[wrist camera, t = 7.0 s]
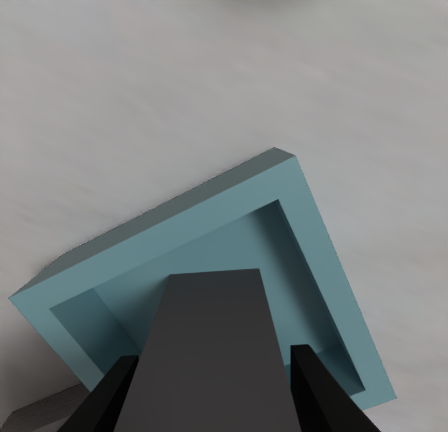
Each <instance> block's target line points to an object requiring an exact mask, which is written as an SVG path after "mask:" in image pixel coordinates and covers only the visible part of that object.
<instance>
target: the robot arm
mask: <svg viewBox="0 0 448 432" xmlns="http://www.w3.org/2000/svg"><path fill="white" fill-rule="evenodd" d="M138 362H139V356H138V355H129V356H121V357H120V358H119V359H118V360H117V361H116V362H115V364H114V365H113V366H112V367H111V368H110V370H109V371H108V372H107V373H106V375H105V376H104V377H103V378H102V379H101V381H100V382H99V383H98V384H97V385H96V387H95V388H94V389H93V390H92V392H91V393H90V394H89V395H88V396H87V397H86V399H85V400H84V401H83V402H82V403H81V404H80V406H79V407H78V408H77V409H76V410H75V411H74V413H73V414H72V415H71V416H70V417H69V418H68V420H67V421H66V422H65V423H64V424H63V425H62V426H61V427H60V428H59V429H58V431H57V432H114V429H115V426H116V424H117V421H118V418H119V415H120V413H121V410H122V407H123V404H124V401H125V399H126V396H127V393H128V390H129V387H130V385H131V382H132V379H133V376H134V373H135V371H136V368H137V365H138ZM290 390H291V393H292V397H293V401H294V405H295V409H296V413H297V417H298V421H299V425H300V428H301V432H381V431H380V430H379V429H378V428H377V427H376V426H375V425H374V424H373V423H372V421H371V420H370V419H369V418H368V417H367V416H366V415H365V414H364V413H363V411H362V410H361V409H360V408H359V407H358V406H357V405H356V403H355V402H354V401H353V400H352V399H351V397H350V396H349V395H348V394H347V393H346V392H345V390H344V389H343V388H342V387H341V386H340V384H339V383H338V382H337V381H336V379H335V378H334V377H333V376H332V374H331V373H330V372H329V370H328V369H327V368H326V366H325V365H324V364H323V363H322V361H321V360H320V358H319V357H318V356H317V354H316V353H315V352H314V350H313V349H312V347H311V346H310V345H309V344H301V345H290Z"/></svg>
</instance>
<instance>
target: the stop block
mask: <svg viewBox="0 0 448 432" xmlns="http://www.w3.org/2000/svg"><path fill="white" fill-rule="evenodd" d="M114 432H301V428H300V425H299V421H298V417H297V413H296V409H295V405H294V401H293V397H292V393H291V390H290V386H289V382H288V378H287V374H286V370H285V366H284V362H283V359H282V355H281V351H280V347H279V343H278V339H277V335H276V331H275V327H274V324H273V320H272V316H271V312H270V308H269V304H268V300H267V296H266V292H265V289H264V285H263V281H262V277H261V273H260V269H259V268H254V269H239V270H225V271H210V272H196V273H181V274H170V276H169V278H168V281H167V284H166V287H165V290H164V292H163V295H162V298H161V301H160V304H159V306H158V309H157V312H156V315H155V318H154V320H153V323H152V326H151V329H150V332H149V334H148V337H147V340H146V343H145V346H144V348H143V351H142V354H141V357H140V359H139V362H138V365H137V368H136V371H135V373H134V376H133V379H132V382H131V385H130V387H129V390H128V393H127V396H126V399H125V401H124V404H123V407H122V410H121V413H120V415H119V418H118V421H117V424H116V426H115V429H114Z"/></svg>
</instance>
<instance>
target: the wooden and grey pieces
mask: <svg viewBox="0 0 448 432" xmlns="http://www.w3.org/2000/svg"><path fill="white" fill-rule="evenodd" d="M90 393H91V392H90V391H89V390H88V389H87V388H86V386H85V385H84V384H83V383H81V384H79V385H76V386H74V387H71V388H69V389H67V390H64V391H62V392H60V393H57V394H55V395H53V396H50V397H48V398H45V399H43V400H41V401H38V402H36V403H34V404H31V405H29V406H26V407H24V408H22V409H19V410H17V411H15V412H12V414H11V415H10V416H9V418H8V419H7V420H6V422H5V423H4V425H3V426H2V427H1V429H0V432H57V431H58V429H59V428H60V427H61V426H62V425H63V424H64V423H65V422H66V421H67V420H68V418H69V417H70V416H71V415H72V414H73V413H74V411H75V410H76V409H77V408H78V407H79V406H80V404H81V403H82V402H83V401H84V400H85V399H86V397H87V396H88V395H89V394H90Z"/></svg>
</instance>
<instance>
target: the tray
mask: <svg viewBox="0 0 448 432" xmlns="http://www.w3.org/2000/svg"><path fill="white" fill-rule="evenodd" d="M254 268H259V269H260V273H261V277H262V281H263V285H264V289H265V292H266V296H267V300H268V304H269V308H270V312H271V316H272V320H273V324H274V327H275V331H276V335H277V339H278V343H279V347H280V351H281V355H282V359H283V362H284V366H285V370H286V374H287V378H288V382H289V386H290V345H301V344H309V345H310V346H311V347H312V349H313V350H314V352H315V353H316V354H317V356H318V357H319V358H320V360H321V361H322V363H323V364H324V365H325V366H326V368H327V369H328V370H329V372H330V373H331V374H332V376H333V377H334V378H335V379H336V381H337V382H338V383H339V384H340V386H341V387H342V388H343V389H344V390H345V392H346V393H347V394H348V395H349V396H350V397H351V399H352V400H353V401H354V402H355V403H356V405H357V406H358V407H359V408H360V409H361V410H365V409H367V408H370V407H373V406H376V405H379V404H382V403H385V402H388V401H390V400H393V399H396V398H397V397H396V395H395V393H394V390H393V388H392V385H391V383H390V381H389V378H388V376H387V373H386V371H385V369H384V366H383V364H382V361H381V359H380V357H379V354H378V352H377V349H376V347H375V345H374V342H373V340H372V337H371V335H370V333H369V330H368V328H367V325H366V323H365V321H364V318H363V316H362V313H361V311H360V309H359V306H358V304H357V301H356V299H355V297H354V294H353V292H352V289H351V287H350V285H349V282H348V280H347V277H346V275H345V273H344V270H343V268H342V265H341V263H340V261H339V258H338V256H337V253H336V251H335V249H334V246H333V244H332V241H331V239H330V237H329V234H328V232H327V229H326V227H325V225H324V222H323V220H322V217H321V215H320V213H319V210H318V208H317V205H316V203H315V201H314V198H313V196H312V193H311V191H310V189H309V186H308V184H307V181H306V179H305V177H304V174H303V172H302V169H301V167H300V165H299V162H298V160H297V157H296V155H293V154H291V153H288V152H286V151H283V150H280V149H278V148H275V147H274V148H272V149H270V150H268V151H266V152H264V153H262V154H260V155H258V156H256V157H254V158H252V159H250V160H248V161H247V162H245V163H243V164H241V165H239V166H237V167H235V168H233V169H231V170H229V171H227V172H225V173H223V174H221V175H219V176H217V177H215V178H213V179H211V180H209V181H207V182H205V183H203V184H201V185H199V186H197V187H195V188H193V189H191V190H189V191H187V192H185V193H183V194H181V195H179V196H177V197H175V198H173V199H172V200H170V201H168V202H166V203H164V204H162V205H160V206H158V207H156V208H154V209H152V210H150V211H148V212H146V213H144V214H142V215H140V216H138V217H136V218H134V219H132V220H130V221H128V222H126V223H124V224H122V225H120V226H118V227H116V228H114V229H112V230H110V231H108V232H106V233H104V234H102V235H100V236H99V237H97V238H95V239H93V240H91V241H89V242H87V243H85V244H83V245H81V246H79V247H77V248H75V249H73V250H71V251H69V252H67V253H65V254H63V255H62V256H60V257H59V258H58V259H57V260H55V261H54V262H53V263H52V264H50V265H49V266H48V267H47V268H45V269H44V270H43V271H42V272H40V273H39V274H38V275H37V276H35V277H34V278H33V279H32V280H30V281H29V282H28V283H27V284H25V285H24V286H23V287H22V288H20V289H19V290H18V291H17V292H15V293H14V294H13V295H12V296H10V297H9V298H8V299H9V300H10V301H11V302H12V303H13V304H14V306H15V307H16V308H17V309H18V310H19V311H20V312H21V314H22V315H23V316H24V317H25V318H26V319H27V320H28V322H29V323H30V324H31V325H32V326H33V327H34V328H35V329H36V331H37V332H38V333H39V334H40V335H41V336H42V337H43V339H44V340H45V341H46V342H47V343H48V344H49V345H50V347H51V348H52V349H53V350H54V351H55V352H56V353H57V355H58V356H59V357H60V358H61V359H62V360H63V361H64V362H65V364H66V365H67V366H68V367H69V368H70V369H71V370H72V372H73V373H74V374H75V375H76V376H77V377H78V378H79V380H80V381H81V382H82V383H83V384H84V385H85V386H86V388H87V389H88V390H89V391H90V392H92V390H93V389H94V388H95V387H96V385H97V384H98V383H99V382H100V381H101V379H102V378H103V377H104V376H105V375H106V373H107V372H108V371H109V370H110V368H111V367H112V366H113V365H114V364H115V362H116V361H117V360H118V359H119V358H120V357H121V356H129V355H138V356H139V359H140V357H141V354H142V351H143V348H144V346H145V343H146V340H147V337H148V334H149V332H150V329H151V326H152V323H153V320H154V318H155V315H156V312H157V309H158V306H159V304H160V301H161V298H162V295H163V292H164V290H165V287H166V284H167V281H168V278H169V276H170V274H181V273H196V272H210V271H225V270H239V269H254Z"/></svg>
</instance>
